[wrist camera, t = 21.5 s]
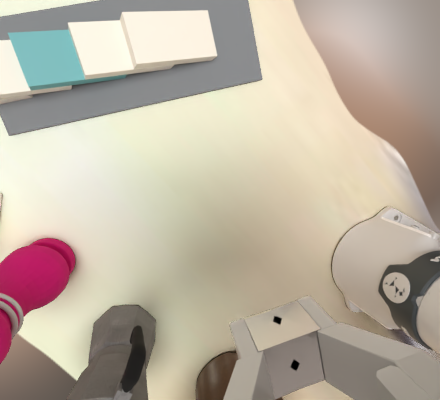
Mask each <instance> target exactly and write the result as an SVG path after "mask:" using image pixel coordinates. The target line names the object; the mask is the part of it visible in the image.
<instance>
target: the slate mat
mask: <svg viewBox="0 0 440 400" xmlns="http://www.w3.org/2000/svg"><path fill="white" fill-rule="evenodd" d="M196 10H208V14H209V19H210V23H211V28H212V33H213V38H214V42H215V47H216V52H217V57H215V58H214V59H213V60H211V61H202V62H193V63H184V64H174V66H173V67H172V68H171V69H166V70H158V71H150V72H142V73H134V74H127V75H126V77H125V78H124V79H116V80H108V81H101V82H93V83H85V84H78V85H72V89H70V90H62V91H55V92H47V93H39V94H32V96H33V98H28V99H23V100H18V101H13V102H9V103H4V104H0V115H1V118H2V120H3V122H4V125H5V127H6V130H7V132H8V134H9V135H10V136H11V135H16V134H20V133H25V132H29V131H34V130H38V129H43V128H47V127H52V126H56V125H61V124H65V123H70V122H74V121H79V120H83V119H88V118H92V117H97V116H101V115H106V114H110V113H115V112H119V111H124V110H128V109H133V108H137V107H142V106H146V105H151V104H155V103H160V102H164V101H169V100H173V99H178V98H182V97H187V96H191V95H196V94H200V93H205V92H209V91H214V90H218V89H223V88H227V87H232V86H236V85H241V84H245V83H250V82H254V81H259V80H262V74H261V69H260V63H259V58H258V52H257V47H256V41H255V36H254V30H253V25H252V19H251V14H250V8H249V3H248V0H99V1H93V2H87V3H81V4H75V5H69V6H63V7H57V8H51V9H45V10H39V11H33V12H27V13H21V14H15V15H9V16H3V17H0V40H10V38H9V35H8V33H14V32H33V31H52V30H69V29H68V22H91V21H114V20H120V17H121V14H122V12H144V11H196Z"/></svg>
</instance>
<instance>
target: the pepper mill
mask: <svg viewBox="0 0 440 400" xmlns="http://www.w3.org/2000/svg"><path fill="white" fill-rule="evenodd" d="M74 267H75V256H74V253H73V251H72V249H71V248H70V247H69V246H68V245H67V244H65V243H64V242H62V241H60V240H57V239H51V238H45V239H40V240H37V241H35V242H33V243H32V244H30V245H29V246H26V247H22V248H19V249H17V250H15V251H13V252H12V253H11V254H10V255H8V256H7V257H6V258H5V259H4V260H3V261H2V262H1V263H0V364H1V362H2V361H3V360H4V358H5V357H6V355H7V353H8V352H9V349H10V346H11V340H12V339H13V337H14V336H15V334H16V333H17V332H18V331H19V330H20V328H21V327H22V324H23V317H24V316H25V315H26V314H27V313H28V312H30V311H31V310H34V309H37V308H40V307H43V306H44V305H46V304H48V303H50V302H51V301H53V300H54V299H56V298H57V297H58V296H59V294H60V293H61V292H62V291H63V290H64V289H65V287H66V285H67V283H68V280H69V275H70V274H71V272H72V271H73V269H74Z"/></svg>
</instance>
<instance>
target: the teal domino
mask: <svg viewBox="0 0 440 400" xmlns="http://www.w3.org/2000/svg"><path fill="white" fill-rule="evenodd" d="M8 35H9V38H10V40H11V43H12V45H13V48H14V51H15V53H16V56H17V58H18V61H19V64H20V66H21V69H22V71H23V74H24V76H25V79H26V82H27V84H28V87H29V88H30V90H31V91H32V90H39V89H47V88H55V87H62V86H70V85H78V84H85V83H93V82H101V81H108V80H116V79H124V78H125V77H126V75H127V74H126V75H118V76H110V77H102V78H94V79H86V80H85V77H84V74H83V71H82V68H81V65H80V62H79V59H78V56H77V53H76V50H75V47H74V44H73V41H72V38H71V35H70V33H69V30H52V31H33V32H14V33H8Z"/></svg>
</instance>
